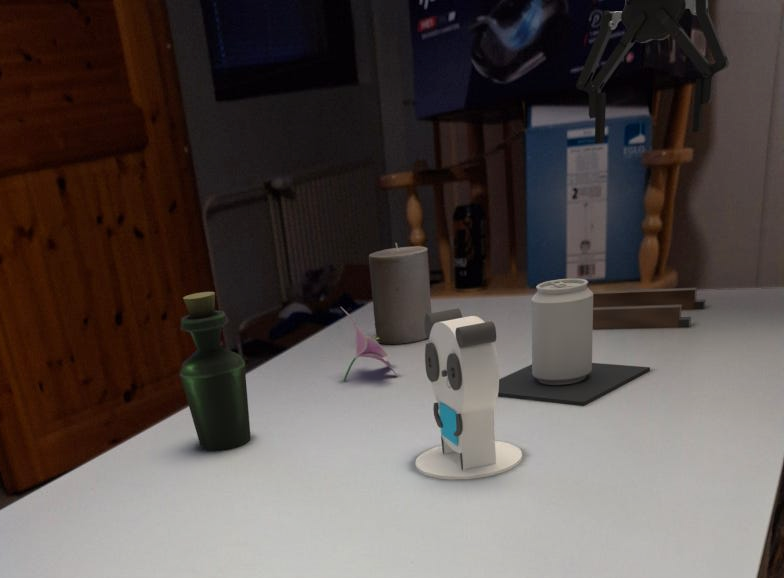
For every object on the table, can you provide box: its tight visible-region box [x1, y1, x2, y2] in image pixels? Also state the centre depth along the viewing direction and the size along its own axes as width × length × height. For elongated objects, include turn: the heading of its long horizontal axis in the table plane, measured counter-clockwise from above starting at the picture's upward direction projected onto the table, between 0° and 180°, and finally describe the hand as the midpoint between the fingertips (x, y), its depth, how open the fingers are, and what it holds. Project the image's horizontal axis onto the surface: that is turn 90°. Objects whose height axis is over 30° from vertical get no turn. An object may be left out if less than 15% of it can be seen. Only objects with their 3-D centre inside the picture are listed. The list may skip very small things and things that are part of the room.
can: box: [530, 278, 594, 385], centre depth 118 cm, size 8×8×12 cm
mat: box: [498, 362, 651, 407], centre depth 121 cm, size 16×16×1 cm
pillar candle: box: [368, 242, 432, 345], centre depth 153 cm, size 10×10×15 cm
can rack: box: [592, 287, 707, 330], centre depth 147 cm, size 21×14×3 cm, turn 60°
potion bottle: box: [179, 291, 251, 451], centre depth 114 cm, size 8×8×18 cm
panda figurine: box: [415, 307, 523, 481], centre depth 97 cm, size 12×11×15 cm
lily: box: [340, 306, 399, 382], centre depth 136 cm, size 12×12×10 cm
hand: (647, 137), depth 135 cm, fingers open, 13 cm apart
